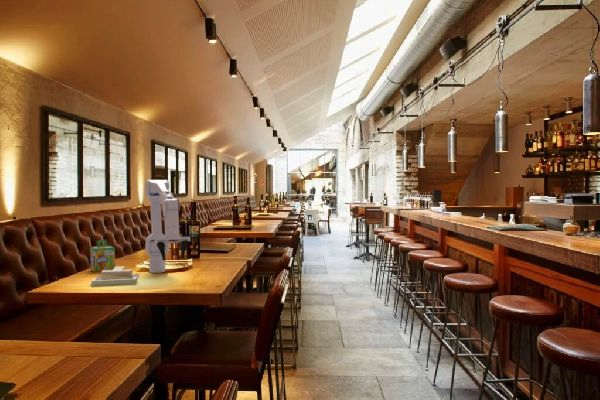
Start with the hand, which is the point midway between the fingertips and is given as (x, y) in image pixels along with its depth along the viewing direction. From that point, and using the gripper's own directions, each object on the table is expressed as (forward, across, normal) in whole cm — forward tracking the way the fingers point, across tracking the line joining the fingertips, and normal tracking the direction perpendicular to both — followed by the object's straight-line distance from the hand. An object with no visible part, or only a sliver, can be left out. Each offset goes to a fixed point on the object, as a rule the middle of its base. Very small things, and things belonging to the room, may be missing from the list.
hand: (173, 259), depth 197 cm
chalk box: (+4, -22, +50) cm, 54 cm away
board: (+8, -20, +19) cm, 29 cm away
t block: (+7, -19, +22) cm, 30 cm away
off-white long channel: (+8, -22, +11) cm, 26 cm away
